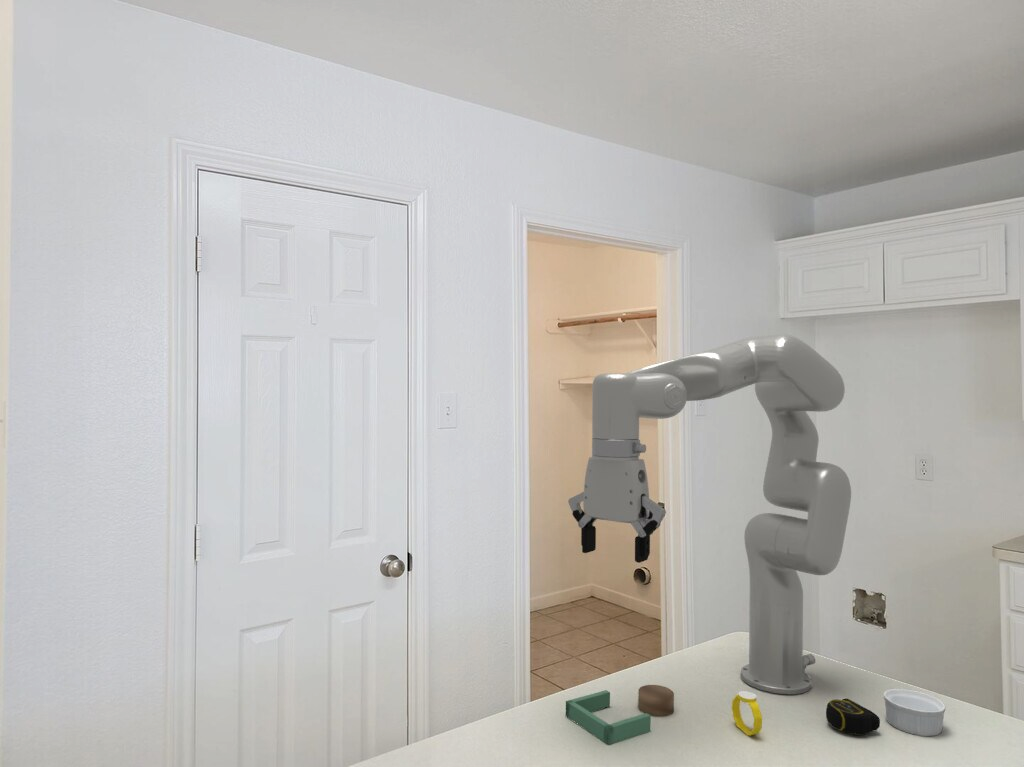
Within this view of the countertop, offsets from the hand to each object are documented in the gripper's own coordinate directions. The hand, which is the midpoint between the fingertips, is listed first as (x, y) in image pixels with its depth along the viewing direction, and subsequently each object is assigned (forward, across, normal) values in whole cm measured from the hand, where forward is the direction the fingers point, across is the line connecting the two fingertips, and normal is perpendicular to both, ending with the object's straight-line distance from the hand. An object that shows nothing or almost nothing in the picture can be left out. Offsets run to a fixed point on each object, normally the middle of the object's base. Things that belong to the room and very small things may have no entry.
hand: (614, 556), depth 110 cm
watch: (+28, -17, -14) cm, 36 cm away
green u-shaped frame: (+28, +2, -2) cm, 28 cm away
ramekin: (+28, -37, -34) cm, 58 cm away
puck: (+28, -2, -12) cm, 30 cm away
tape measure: (+28, -29, -27) cm, 49 cm away
